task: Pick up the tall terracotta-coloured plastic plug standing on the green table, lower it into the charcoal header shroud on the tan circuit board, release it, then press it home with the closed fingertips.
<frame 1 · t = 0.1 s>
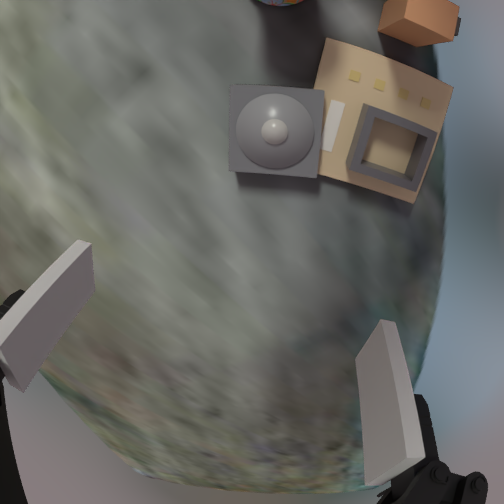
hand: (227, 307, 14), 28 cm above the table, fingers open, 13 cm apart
grey domed square block: (276, 126, 36), on the table
board: (374, 121, 34), on the table
plug: (400, 24, 27), on the table
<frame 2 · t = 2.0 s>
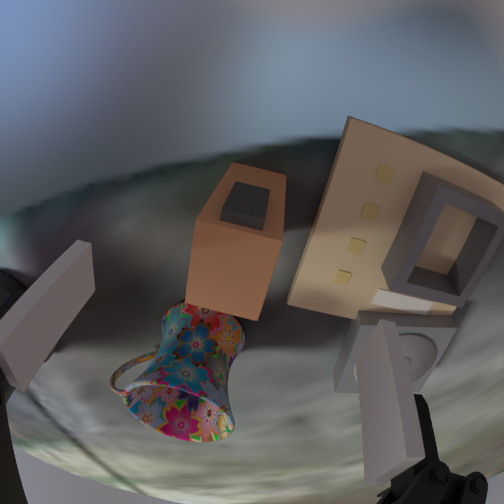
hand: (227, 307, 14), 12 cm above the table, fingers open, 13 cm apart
grey domed square block: (389, 342, 30), on the table
board: (406, 242, 24), on the table
mug: (192, 326, 32), on the table
plug: (252, 199, 24), on the table
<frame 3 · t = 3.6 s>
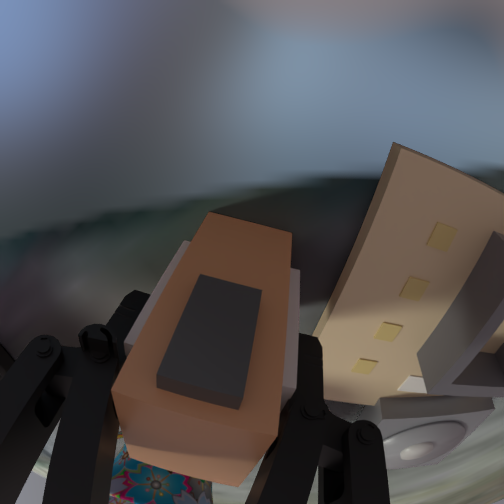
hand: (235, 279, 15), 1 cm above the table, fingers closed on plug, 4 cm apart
grey domed square block: (411, 417, 22), on the table
board: (451, 317, 16), on the table
mug: (171, 398, 24), on the table
plug: (239, 265, 16), on the table, touching gripper
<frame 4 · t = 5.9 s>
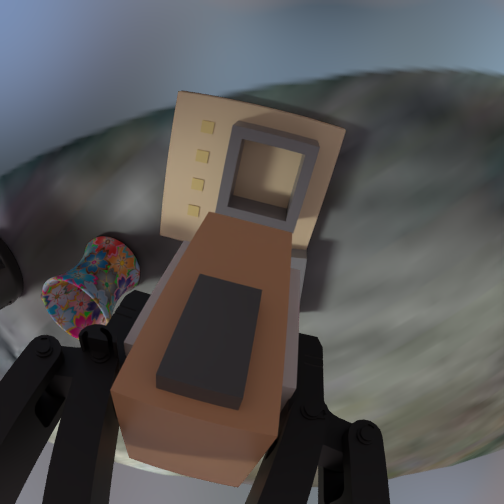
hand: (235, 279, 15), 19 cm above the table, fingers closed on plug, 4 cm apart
grey domed square block: (258, 276, 38), on the table
board: (244, 181, 32), on the table
mug: (106, 260, 40), on the table
plug: (239, 265, 16), point 18 cm above the table, touching gripper
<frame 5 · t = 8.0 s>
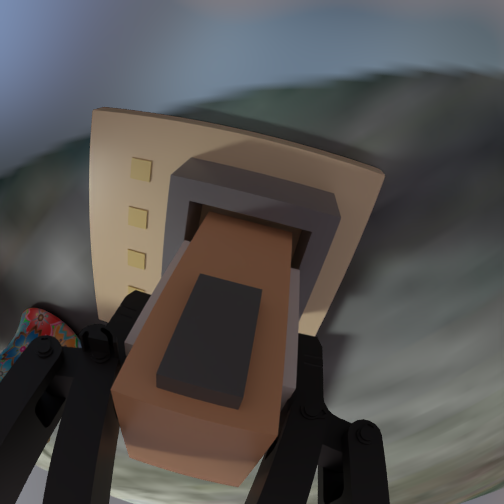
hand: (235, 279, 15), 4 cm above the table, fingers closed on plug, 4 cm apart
board: (210, 254, 20), on the table
mug: (49, 331, 28), on the table
plug: (240, 265, 16), point 3 cm above the table, touching gripper
when the fingers open (4 cm above the table, at t = 9.2 s): plug stays where it is, resting on board.
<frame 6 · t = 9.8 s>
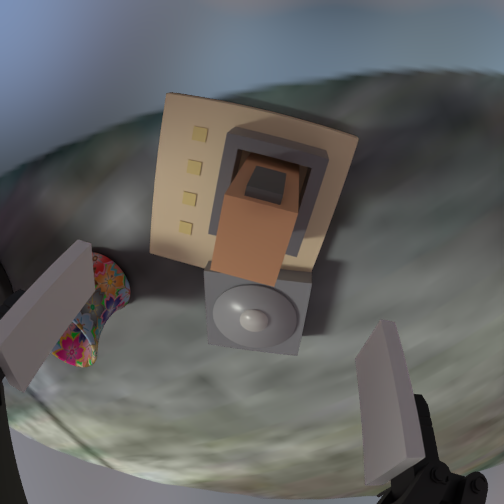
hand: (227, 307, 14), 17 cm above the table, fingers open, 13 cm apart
grey domed square block: (258, 299, 35), on the table
board: (242, 195, 29), on the table
mug: (95, 276, 37), on the table
plug: (268, 185, 27), point 1 cm above the table, touching board
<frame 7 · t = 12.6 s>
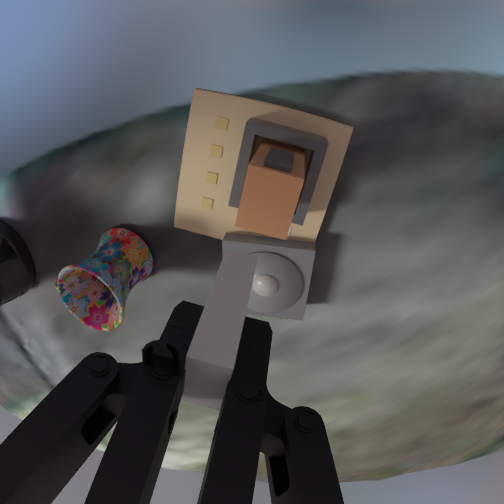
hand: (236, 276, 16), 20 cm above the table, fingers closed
grey domed square block: (268, 268, 39), on the table
board: (256, 176, 34), on the table
mug: (120, 251, 42), on the table
plug: (278, 166, 32), point 1 cm above the table, touching board
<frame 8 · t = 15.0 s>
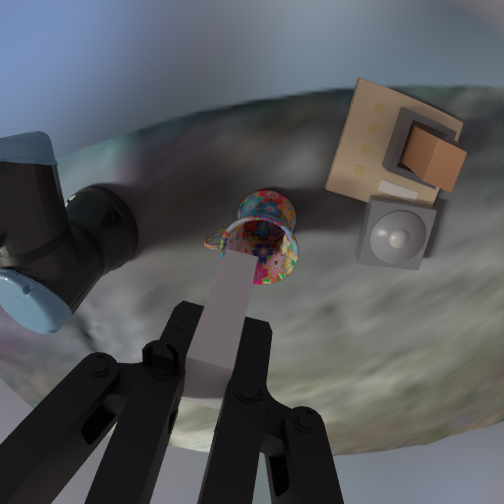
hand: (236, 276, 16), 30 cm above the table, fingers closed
grey domed square block: (392, 228, 45), on the table
board: (395, 151, 39), on the table
mug: (257, 215, 47), on the table
plug: (415, 145, 37), point 1 cm above the table, touching board
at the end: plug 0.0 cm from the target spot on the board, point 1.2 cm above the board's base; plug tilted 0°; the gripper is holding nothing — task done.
